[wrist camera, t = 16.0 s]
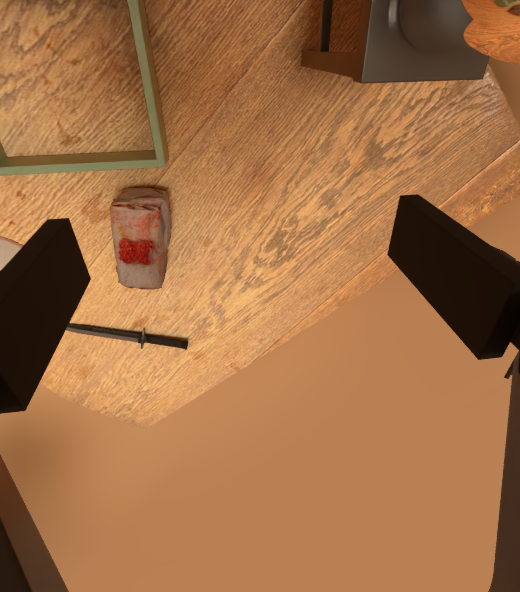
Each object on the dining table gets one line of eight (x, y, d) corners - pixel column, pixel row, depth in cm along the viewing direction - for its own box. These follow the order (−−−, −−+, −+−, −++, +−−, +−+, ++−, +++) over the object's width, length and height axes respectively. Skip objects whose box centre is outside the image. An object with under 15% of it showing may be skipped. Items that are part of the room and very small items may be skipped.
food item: (114, 179, 50) (97, 205, 42) (172, 183, 51) (166, 209, 43) (125, 263, 57) (112, 298, 49) (175, 264, 59) (170, 299, 51)
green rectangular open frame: (-76, -14, 36) (-112, -21, 32) (141, -15, 38) (133, -22, 34) (2, 165, 47) (-17, 176, 43) (169, 157, 49) (165, 167, 45)
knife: (47, 337, 63) (45, 317, 60) (52, 330, 65) (49, 310, 62) (184, 357, 69) (188, 340, 66) (186, 350, 70) (189, 333, 67)
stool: (304, -41, 39) (386, -112, 21) (391, -41, 39) (540, -110, 22) (299, 67, 44) (360, 83, 27) (375, 65, 45) (483, 79, 28)
